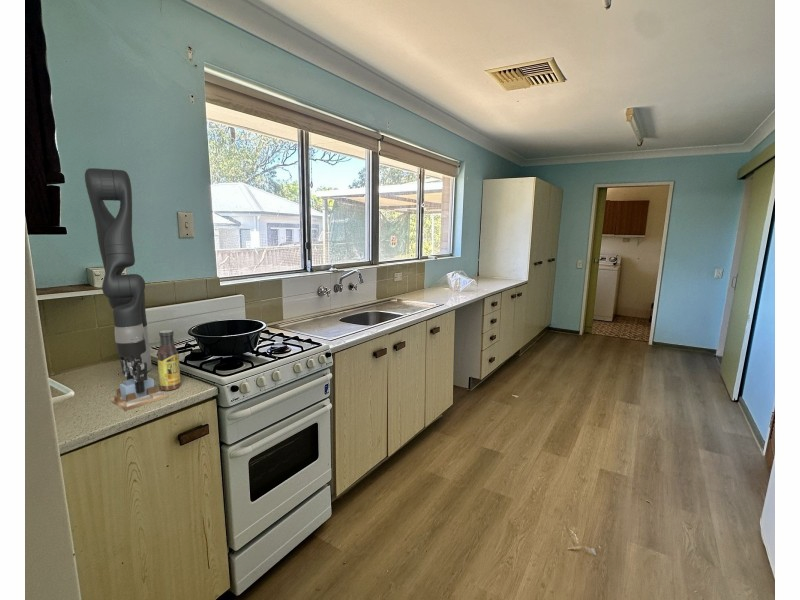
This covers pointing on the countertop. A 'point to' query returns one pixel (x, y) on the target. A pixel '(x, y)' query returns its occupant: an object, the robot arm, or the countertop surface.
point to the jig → (136, 402)
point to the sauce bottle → (168, 362)
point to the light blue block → (129, 387)
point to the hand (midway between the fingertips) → (136, 389)
